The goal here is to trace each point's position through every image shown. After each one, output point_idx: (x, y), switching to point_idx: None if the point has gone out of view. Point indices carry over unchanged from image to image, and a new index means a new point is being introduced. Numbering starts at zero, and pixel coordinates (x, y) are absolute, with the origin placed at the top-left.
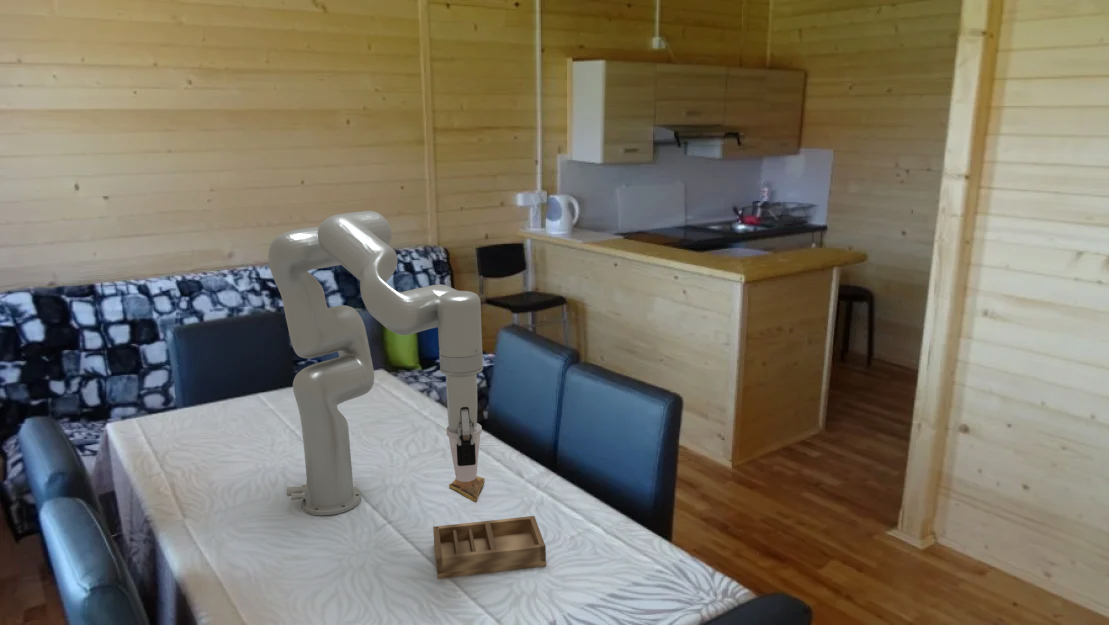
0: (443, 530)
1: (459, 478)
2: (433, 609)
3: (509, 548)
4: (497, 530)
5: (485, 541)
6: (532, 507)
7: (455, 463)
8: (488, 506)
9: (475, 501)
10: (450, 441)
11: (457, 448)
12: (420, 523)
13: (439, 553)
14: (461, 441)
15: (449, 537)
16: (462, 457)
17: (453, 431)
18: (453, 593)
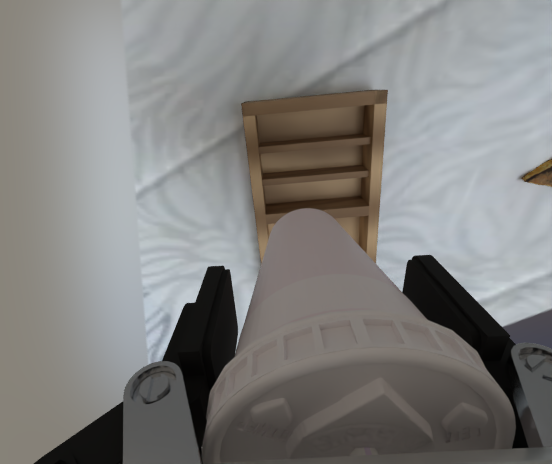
0: (372, 115)
1: (275, 226)
2: (146, 96)
3: (266, 245)
4: (362, 221)
5: (346, 195)
6: (453, 272)
7: (280, 243)
8: (491, 201)
9: (524, 176)
10: (293, 301)
11: (185, 335)
12: (479, 51)
13: (263, 109)
14: (70, 441)
15: (365, 126)
16: (179, 320)
17: (277, 405)
18: (196, 133)
